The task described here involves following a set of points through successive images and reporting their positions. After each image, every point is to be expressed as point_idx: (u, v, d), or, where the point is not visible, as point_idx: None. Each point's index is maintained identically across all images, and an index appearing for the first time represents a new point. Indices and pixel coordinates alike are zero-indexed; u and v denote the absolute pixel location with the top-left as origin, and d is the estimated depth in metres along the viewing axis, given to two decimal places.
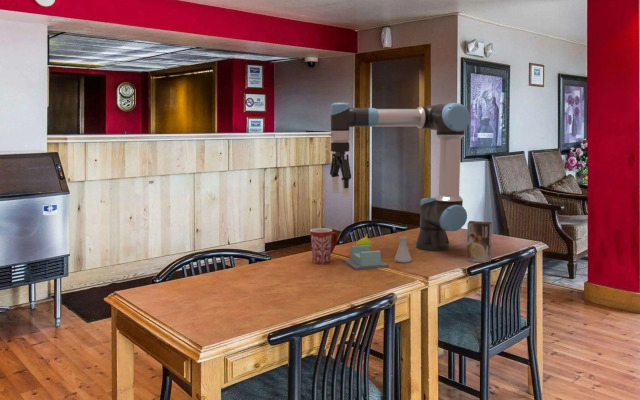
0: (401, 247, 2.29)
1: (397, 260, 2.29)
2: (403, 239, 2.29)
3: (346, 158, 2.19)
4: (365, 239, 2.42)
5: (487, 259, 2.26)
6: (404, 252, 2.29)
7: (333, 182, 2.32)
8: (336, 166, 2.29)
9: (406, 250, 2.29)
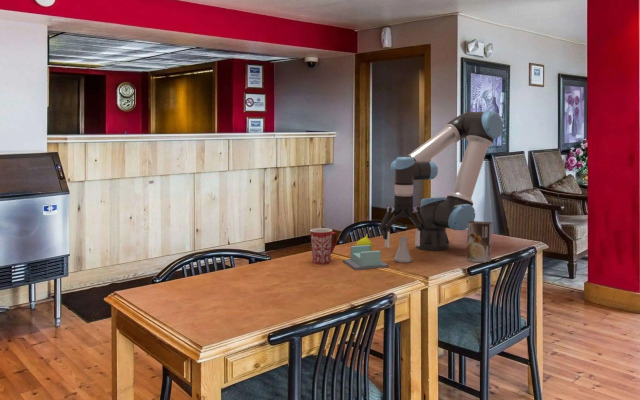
0: (401, 247, 2.29)
1: (397, 260, 2.29)
2: (403, 239, 2.29)
3: (388, 211, 2.26)
4: (365, 239, 2.42)
5: (487, 259, 2.26)
6: (404, 252, 2.29)
7: (415, 235, 2.32)
8: (410, 219, 2.30)
9: (406, 250, 2.29)
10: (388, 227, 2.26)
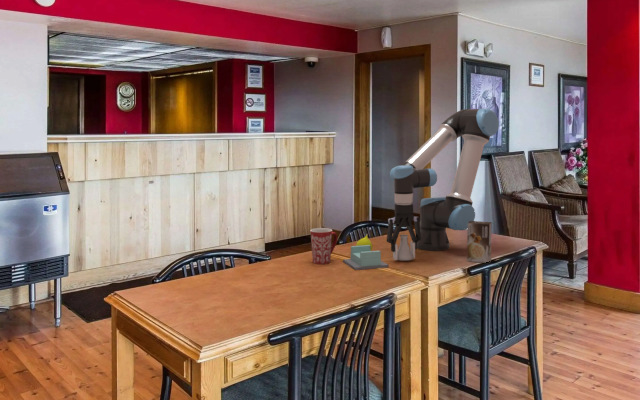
0: (402, 245, 2.29)
1: (398, 258, 2.29)
2: (404, 237, 2.29)
3: (389, 223, 2.27)
4: (365, 239, 2.42)
5: (487, 259, 2.26)
6: (405, 250, 2.29)
7: (410, 247, 2.33)
8: (408, 228, 2.31)
9: (407, 248, 2.29)
10: (395, 239, 2.28)
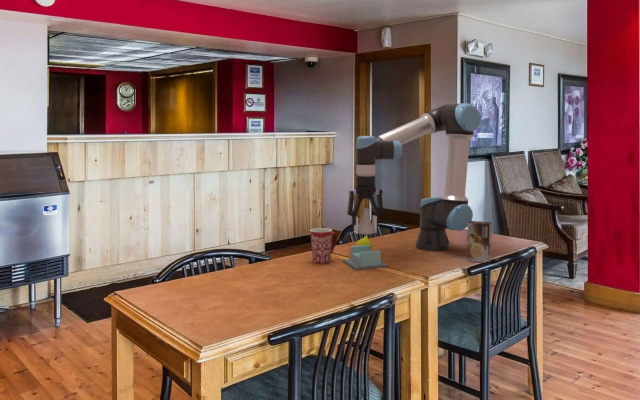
0: (363, 218, 2.22)
1: (359, 232, 2.22)
2: (365, 210, 2.21)
3: (350, 195, 2.20)
4: (365, 239, 2.42)
5: (487, 259, 2.26)
6: (366, 223, 2.21)
7: (372, 221, 2.25)
8: (370, 201, 2.23)
9: (368, 221, 2.22)
10: (356, 212, 2.20)
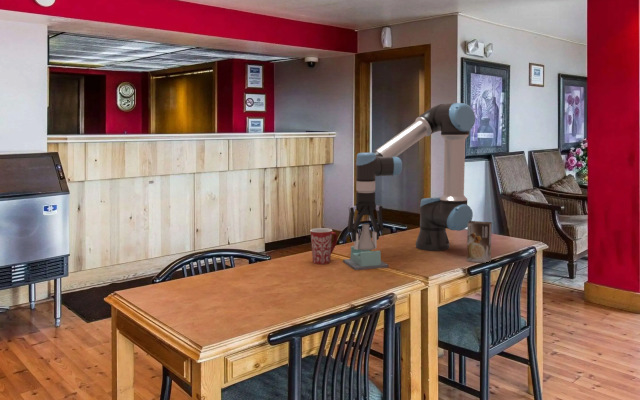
0: (363, 234, 2.23)
1: (359, 248, 2.23)
2: (365, 226, 2.22)
3: (350, 211, 2.21)
4: None
5: (487, 259, 2.26)
6: (366, 239, 2.22)
7: (372, 237, 2.26)
8: (370, 217, 2.24)
9: (368, 237, 2.23)
10: (356, 228, 2.21)
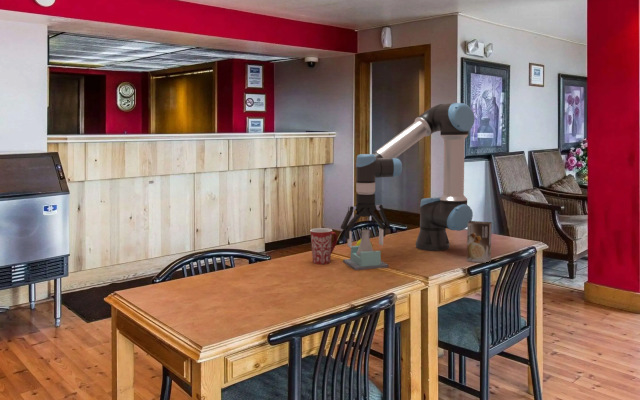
0: (363, 240, 2.23)
1: (359, 254, 2.23)
2: (365, 232, 2.22)
3: (349, 209, 2.20)
4: None
5: (487, 259, 2.26)
6: (366, 245, 2.22)
7: (379, 233, 2.27)
8: (373, 217, 2.25)
9: (368, 243, 2.23)
10: (350, 226, 2.21)
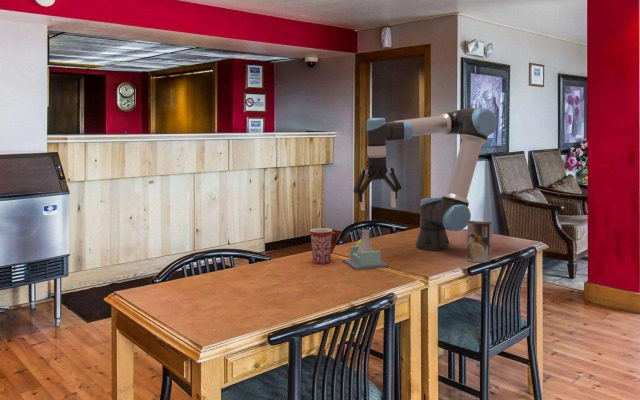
0: (363, 240, 2.23)
1: (359, 254, 2.23)
2: (365, 232, 2.22)
3: (361, 173, 2.24)
4: None
5: (487, 259, 2.26)
6: (366, 245, 2.22)
7: (391, 196, 2.31)
8: (385, 180, 2.29)
9: (368, 243, 2.23)
10: (363, 189, 2.25)
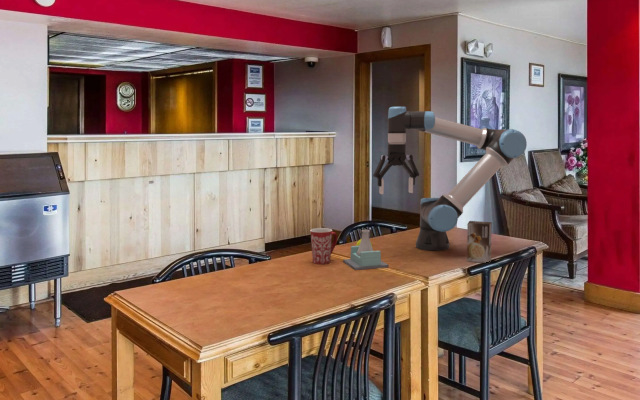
0: (363, 240, 2.23)
1: (359, 254, 2.23)
2: (365, 232, 2.22)
3: (381, 158, 2.36)
4: None
5: (487, 259, 2.26)
6: (366, 245, 2.22)
7: (409, 182, 2.42)
8: (403, 167, 2.40)
9: (368, 243, 2.23)
10: (382, 174, 2.36)
